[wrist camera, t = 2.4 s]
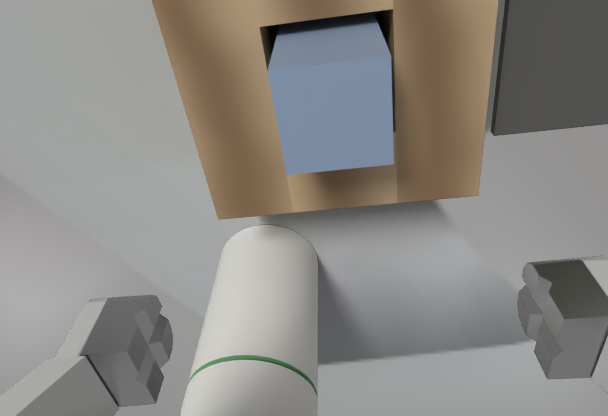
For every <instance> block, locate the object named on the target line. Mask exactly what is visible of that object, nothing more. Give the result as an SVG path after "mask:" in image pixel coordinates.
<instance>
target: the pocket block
mask: <svg viewBox="0 0 608 416" xmlns="http://www.w3.org/2000/svg"><path fill="white" fill-rule="evenodd" d="M152 3H153V6H154V9H155V12H156V16H157V19H158V22H159V26H160V29H161V32H162V35H163V39H164V42H165V45H166V49H167V52H168V55H169V58H170V62H171V65H172V68H173V72H174V75H175V78H176V82H177V85H178V88H179V91H180V95H181V98H182V101H183V105H184V108H185V111H186V114H187V118H188V121H189V124H190V128H191V131H192V134H193V137H194V141H195V144H196V147H197V151H198V154H199V157H200V160H201V164H202V167H203V170H204V174H205V177H206V180H207V183H208V187H209V190H210V193H211V197H212V200H213V203H214V206H215V210H216V213H217V216H218V220H220V219H231V218H242V217H253V216H263V215H274V214H285V213H296V212H307V211H317V210H328V209H339V208H350V207H361V206H371V205H382V204H393V203H404V202H415V201H425V200H436V199H447V198H458V197H468V196H478V193H479V185H480V175H481V164H482V155H483V145H484V136H485V126H486V117H487V107H488V97H489V87H490V78H491V68H492V58H493V49H494V39H495V29H496V19H497V10H498V0H152ZM374 11H381V21H382V34H383V37H384V39H385V42H386V44H387V47H388V49H389V52H390V54H391V69H392V109H393V149H394V164H392V165H382V166H372V167H362V168H352V169H342V170H333V171H323V172H313V173H303V174H293V175H286V170H285V164H284V159H283V154H282V148H281V143H280V137H279V132H278V126H277V121H276V116H275V110H274V105H273V99H272V94H271V88H270V83H269V77H268V72H267V71H268V67H269V63H270V59H271V56H272V52H273V48H274V44H275V41H276V36H275V30H274V25H278V24H285V23H293V22H300V21H308V20H315V19H322V18H330V17H337V16H345V15H352V14H360V13H367V12H374Z"/></svg>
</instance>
